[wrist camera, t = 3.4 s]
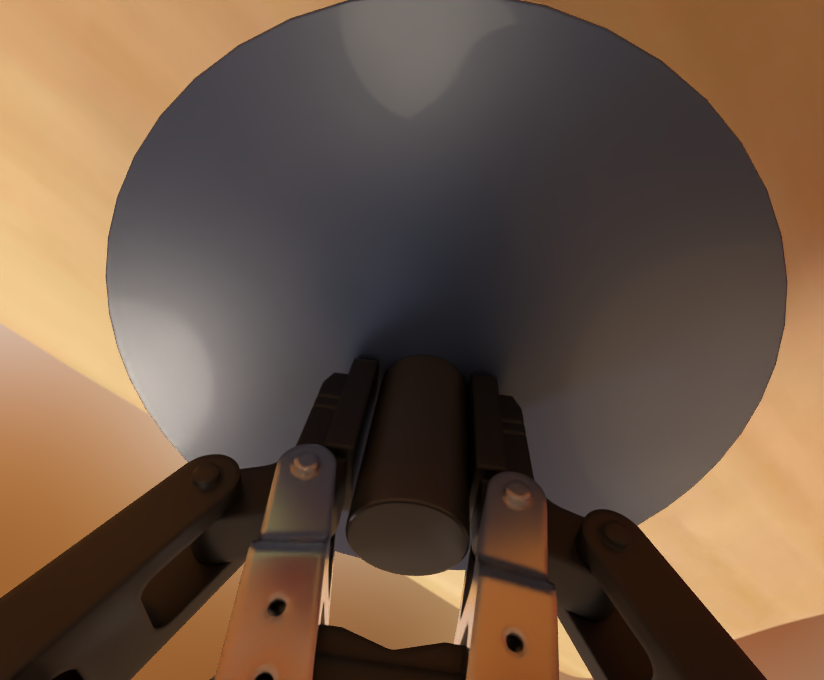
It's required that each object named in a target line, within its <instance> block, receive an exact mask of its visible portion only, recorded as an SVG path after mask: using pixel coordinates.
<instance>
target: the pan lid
mask: <svg viewBox="0 0 824 680" xmlns="http://www.w3.org/2000/svg"><path fill="white" fill-rule="evenodd" d="M106 284H107V294H108V305H109V314H110V318H111V322H112V326H113V331H114V335H115V339H116V343H117V347H118V350H119V352H120V355H121V358H122V360H123V363H124V365H125V368H126V370H127V373H128V375H129V378H130V380H131V382H132V384H133V386H134V388H135V390H136V392H137V393H138V395H139V397H140V399H141V401H142V403H143V404H144V406H145V408H146V410H147V411H148V413H149V414H150V416H151V417H152V418H153V420H154V421H155V423H156V424H157V426H158V427H159V428H160V430H161V431H162V432H163V434H164V435H165V437H166V438H167V439H168V440H169V441H170V442H171V444H172V445H173V446H174V447H175V448H176V449H177V450H178V452H179V453H180V454H181V455H182V456H183V457H184V459H185V460H187V462H190V461H192V460H194V459H196V458H198V457H201V456H205V455H210V454H221V455H226V456H229V457H231V458H232V459H234V460H235V461H236V462H237V463H238V465H239V468H240V469H243V468H251V467H259V466H265V465H270V464H273V463H275V462H278V460H279V459H280V457H281V456H282V455H283V454H284V453H285V452H286V451H288V450H289V449H291V448H293V447H295V446H296V444H297V442H298V440H299V437H300V435H301V433H302V430H303V428H304V426H305V423H306V421H307V419H308V416H309V414H310V412H311V409H312V407H313V405H314V402H315V400H316V397H318V393H319V390H320V388H321V386H322V383H323V382H324V381H325V380H326V379H327V378H328V377H330V376H331V375H332V374H333V373H334V372H337V373H344V374H349V371H350V368H351V366H352V363H353V360H354V358H360V359H367V360H375V361H379V374H378V388H377V401H376V405H375V409H374V413H373V417H372V422H371V426H370V430H369V434H368V438H367V442H366V446H365V450H364V454H363V458H362V462H361V466H360V470H359V474H358V478H357V482H356V486H355V490H354V494H353V498H352V502H351V506H350V510H349V512H348V511H342V513H341V517H340V521H339V525H338V528H337V531H336V541H335V551H337V552H340V553H343V554H347V555H351V556H355V557H359V558H361V559H362V560H364V561H366V562H367V563H369V564H370V565H372V566H374V567H377V568H379V569H381V570H384V571H388V572H391V573H395V574H400V575H408V576H424V575H432V574H437V573H440V572H444V571H446V570H466V565H467V558H468V553H469V549H470V546H471V529H470V506H469V453H468V400H467V390H468V385H469V381H470V377H471V374H479V375H486V376H494V377H497V382H498V391H499V394H500V395H507V396H513V398H514V399H515V400H516V402H517V403H518V405H519V406H520V407H521V409H522V414H523V419H524V425H525V431H526V436H527V442H528V448H529V453H530V459H531V465H532V470H533V476H534V480H535V482H537V483H538V484H539V485H540V487H541V488H542V489H543V491H544V493H545V495H546V498H547V499H548V500H550V501H551V502H552V503H554V504H556V505H557V506H559V507H561V508H563V509H566V510H568V511H570V512H573V513H575V514H577V515H580V516H582V517H585V516H586V515H587V514H588V513H589V512H591V511H593V510H597V509H606V510H611V511H615V512H617V513H620V514H622V515H624V516H625V517H627V518H628V519H630V520H631V521H632V522H633V523H635V524H636V525H639V524H640V523H642V522H644V521H645V520H647V519H648V518H650V517H652V516H653V515H655V514H656V513H658V512H660V511H661V510H663V509H664V508H666V507H668V506H669V505H670V504H671V503H673V502H674V501H675V500H677V499H678V498H679V497H680V496H682V495H683V494H684V493H686V492H687V491H688V490H689V489H691V488H692V487H693V486H694V485H695V484H697V483H698V482H699V481H700V480H701V479H702V478H703V477H704V476H705V475H706V474H707V473H708V472H709V471H710V470H711V469H712V468H713V467H714V466H715V465H716V464H717V463H718V462H719V461H720V460H721V458H722V457H723V456H724V455H725V453H726V452H727V451H728V450H729V448H730V447H731V446H732V444H733V443H734V442H735V441H736V439H737V438H738V437H739V436H740V434H741V433H742V432H743V430H744V428H745V427H746V425H747V423H748V421H749V420H750V418H751V416H752V415H753V413H754V411H755V410H756V408H757V406H758V405H759V403H760V401H761V399H762V397H763V394H764V392H765V389H766V387H767V384H768V382H769V379H770V377H771V375H772V372H773V370H774V367H775V365H776V361H777V356H778V352H779V348H780V343H781V339H782V335H783V330H784V326H785V313H786V296H787V275H786V267H785V259H784V251H783V243H782V236H781V232H780V229H779V226H778V223H777V220H776V217H775V214H774V210H773V207H772V204H771V201H770V198H769V195H768V191H767V189H766V187H765V185H764V183H763V181H762V179H761V178H760V176H759V174H758V172H757V170H756V168H755V166H754V165H753V163H752V161H751V159H750V157H749V155H748V153H747V152H746V150H745V148H744V146H743V144H742V143H741V141H740V140H739V139H738V138H737V136H736V135H735V134H734V133H733V131H732V130H731V129H730V128H729V126H728V125H727V124H726V123H725V122H724V120H723V119H722V118H721V117H720V115H719V114H718V113H717V112H716V110H715V109H714V108H713V107H712V105H711V104H710V103H709V102H708V100H707V99H706V98H704V97H703V96H702V95H701V94H700V93H699V92H697V91H696V90H695V89H694V88H693V87H692V86H690V85H689V84H688V83H687V82H686V81H685V80H683V79H682V78H681V77H680V76H679V75H678V74H676V73H675V72H674V71H673V70H672V69H671V68H669V67H668V66H667V65H666V64H665V63H664V62H663V61H661V60H660V59H658V58H656V57H654V56H653V55H651V54H649V53H648V52H646V51H644V50H643V49H641V48H639V47H638V46H636V45H634V44H633V43H631V42H629V41H627V40H626V39H624V38H622V37H621V36H619V35H617V34H616V33H614V32H612V31H611V30H609V29H607V28H604V27H602V26H599V25H596V24H594V23H591V22H589V21H586V20H583V19H581V18H578V17H575V16H573V15H570V14H567V13H565V12H562V11H560V10H557V9H554V8H552V7H549V6H546V5H542V4H536V3H531V2H526V1H521V0H347V1H344V2H341V3H338V4H335V5H331V6H328V7H325V8H322V9H319V10H315V11H312V12H309V13H306V14H303V15H300V16H296V17H293V18H290V19H288V20H286V21H285V22H283V23H281V24H279V25H277V26H275V27H273V28H271V29H269V30H267V31H265V32H263V33H261V34H259V35H257V36H255V37H253V38H252V39H250V40H248V41H246V42H244V43H242V44H240V45H238V46H237V47H235V48H234V49H233V50H231V51H230V52H229V53H228V54H226V55H225V56H224V57H222V58H221V59H220V60H218V61H217V62H216V63H214V64H213V65H212V66H210V67H209V68H208V69H206V70H205V71H204V72H202V73H201V74H200V75H199V76H197V77H196V78H195V79H194V80H193V81H192V82H191V83H190V84H189V85H188V86H187V87H186V88H185V89H184V91H183V92H182V93H181V94H180V95H179V96H178V97H177V98H176V99H175V100H174V101H173V102H172V103H171V105H170V106H169V107H168V108H167V109H166V110H165V111H164V112H163V113H162V114H161V115H160V117H159V118H158V120H157V121H156V123H155V125H154V126H153V128H152V129H151V131H150V132H149V134H148V136H147V137H146V139H145V140H144V142H143V143H142V145H141V146H140V148H139V150H138V151H137V153H136V154H135V156H134V158H133V161H132V163H131V165H130V168H129V170H128V173H127V175H126V177H125V180H124V182H123V185H122V187H121V189H120V192H119V194H118V197H117V201H116V205H115V209H114V214H113V218H112V223H111V227H110V231H109V236H108V248H107V264H106Z"/></svg>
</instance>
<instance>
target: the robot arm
mask: <svg viewBox="0 0 824 680" xmlns="http://www.w3.org/2000/svg"><path fill="white" fill-rule="evenodd" d="M378 374H379V361H375V360H367V359H360V358H354V360H353V363H352V366H351V368H350V371H349V374H344V373H337V372H334V373H333V374H332V375H331V376H330V377H328V378H327V379H326V380H325V381H324V382H323V383H322V386H321V388H320V390H319V393H318V397H316V400H315V402H314V405H313V407H312V409H311V412H310V414H309V416H308V419H307V421H306V423H305V426H304V428H303V430H302V433H301V435H300V437H299V440H298V442H297V444H296V446H295V447H293V448H291V449H289V450H288V451H286V452H285V453H284V454H283V455H282V456H281V457H280V459H279V460H278V462H275V463H273V464H270V465H265V466H259V467H251V468H243V469H240V468H239V465H238V463H237V462H236V461H235V460H234V459H232V458H231V457H229V456H226V455H221V454H210V455H205V456H201V457H198V458H196V459H194V460H192V461H190V462H188V463H187V464H185V465H184V466H183V467H181V468H180V469H178V470H177V471H176V472H174V473H173V474H172V475H170V476H169V477H167V478H166V479H165V480H163V481H162V482H160V483H159V484H158V485H156V486H155V487H154V488H152V489H151V490H149V491H148V492H147V493H145V494H144V495H143V496H141V497H140V498H138V499H137V500H136V501H134V502H133V503H131V504H130V505H129V506H127V507H126V508H124V509H123V510H122V511H120V512H119V513H118V514H116V515H115V516H114V517H112V518H111V519H109V520H108V521H106V522H105V523H104V524H102V525H101V526H100V527H98V528H97V529H95V530H94V531H93V532H91V533H90V534H89V535H87V536H86V537H84V538H83V539H82V540H80V541H79V542H78V543H76V544H75V545H73V546H72V547H71V548H69V549H68V550H66V551H65V552H64V553H62V554H61V555H59V556H58V557H57V558H55V559H54V560H53V561H51V562H50V563H49V564H47V565H46V566H44V567H43V568H41V569H40V570H39V571H37V572H36V573H35V574H33V575H32V576H31V577H29V578H28V579H26V580H25V581H24V582H22V583H21V584H19V585H18V586H17V587H15V588H14V589H13V590H11V591H10V592H8V593H7V594H6V595H4V596H3V597H2V598H0V680H131V679H132V678H133V677H134V675H135V674H136V673H137V672H138V671H139V670H140V669H141V668H142V667H143V666H144V665H145V664H146V663H147V662H148V661H149V660H150V659H151V658H152V657H153V656H154V655H155V654H156V653H157V652H158V651H159V650H160V649H161V648H162V647H163V645H165V644H166V643H167V642H168V641H169V639H170V638H171V637H172V636H173V635H174V634H175V633H176V632H177V631H178V630H179V629H180V628H181V627H182V626H183V625H184V624H185V623H186V622H187V621H188V620H189V619H190V618H191V617H192V616H193V615H194V614H195V613H196V612H197V611H198V610H199V609H200V607H202V606H203V604H205V603H206V601H207V600H208V599H209V598H210V597H211V596H212V595H213V594H214V593H215V592H216V591H217V590H218V589H219V588H220V587H221V586H222V585H223V584H224V583H225V582H226V581H227V580H228V579H229V578H230V577H231V576H232V575H233V574H234V573H235V572H236V571H237V570H238V568H239V567H240V566H241V565H242V564H243V563H244V562H245V564H244V568H243V572H242V575H241V579H240V583H239V587H238V591H237V595H236V598H235V602H234V606H233V610H232V614H231V618H230V621H229V625H228V629H227V633H226V637H225V641H224V644H223V648H222V652H221V656H220V660H219V663H218V667H217V671H216V674H215V675H214V676H213V677H212V678H211V679H210V680H559V657H558V621H557V616H558V618H559V620H560V621H561V623H562V625H563V627H564V628H565V630H566V632H567V634H568V635H569V637H570V639H571V640H572V642H573V644H574V646H575V647H576V649H577V651H578V653H579V654H580V656H581V658H582V660H583V661H584V663H585V665H586V666H587V668H588V670H589V672H590V673H591V675H592V677H593V679H594V680H767V679H766V678H765V677H764V676H763V674H762V673H761V672H760V671H759V670H758V668H757V667H756V666H755V665H754V664H753V662H752V661H751V660H750V659H749V658H748V656H747V655H746V654H745V653H744V652H743V651H742V649H741V648H740V647H739V646H738V645H737V643H736V642H735V641H734V640H733V639H732V638H731V636H730V635H729V634H728V633H727V632H726V630H725V629H724V628H723V627H722V626H721V624H720V623H719V622H718V621H717V620H716V619H715V617H714V616H713V615H712V614H711V613H710V611H709V610H708V609H707V608H706V607H705V606H704V604H703V603H702V602H701V601H700V600H699V598H698V597H697V596H696V595H695V594H694V592H693V591H692V590H691V589H690V588H689V587H688V585H687V584H686V583H685V582H684V581H683V579H682V578H681V577H680V576H679V575H678V574H677V572H676V571H675V570H674V569H673V568H672V566H671V565H670V564H669V563H668V562H667V560H666V559H665V558H664V557H663V556H662V555H661V553H660V552H659V551H658V550H657V549H656V547H655V546H654V545H653V544H652V543H651V542H650V540H649V539H648V538H647V537H646V536H645V534H644V533H643V532H642V531H641V530H640V529H639V527H638V526H637V525H636V524H635V523H633V522H632V521H631V520H630V519H628V518H627V517H625V516H624V515H622V514H620V513H617V512H615V511H611V510H606V509H597V510H593V511H591V512H589V513H588V514H587V515H586V516H585V517H582V516H580V515H577V514H575V513H573V512H570V511H568V510H566V509H563V508H561V507H559V506H557V505H556V504H554V503H552V502H551V501H550V500H548V499H547V498H546V495H545V493H544V491H543V489H542V488H541V487H540V485H539V484H538V483H537V482H535V480H534V476H533V470H532V465H531V459H530V453H529V448H528V442H527V436H526V431H525V425H524V419H523V414H522V409H521V407H520V406H519V405H518V403H517V402H516V400H515V399H514V398H513V396H507V395H500V394H499V391H498V382H497V377H494V376H486V375H479V374H471V377H470V381H469V385H468V390H467V400H468V453H469V506H470V529H471V546H470V549H469V553H468V558H467V565H466V571H465V578H464V584H463V591H462V598H461V604H460V612H459V617H458V624H457V629H456V634H455V639H454V643H453V644H451V643H438V644H432V645H424V646H418V647H411V648H405V649H398V650H391V649H387V648H385V647H383V646H381V645H379V644H376V643H374V642H372V641H370V640H368V639H366V638H364V637H361V636H359V635H357V634H355V633H353V632H351V631H349V630H346V629H344V628H342V627H336V626H330V625H329V611H330V598H331V586H332V576H333V575H332V574H333V564H334V552H335V541H336V531H337V528H338V525H339V521H340V517H341V513H342V511H348V512H349V510H350V506H351V502H352V498H353V494H354V490H355V486H356V482H357V478H358V474H359V470H360V466H361V462H362V458H363V454H364V450H365V446H366V442H367V438H368V434H369V430H370V426H371V422H372V417H373V413H374V409H375V405H376V401H377V388H378Z"/></svg>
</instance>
